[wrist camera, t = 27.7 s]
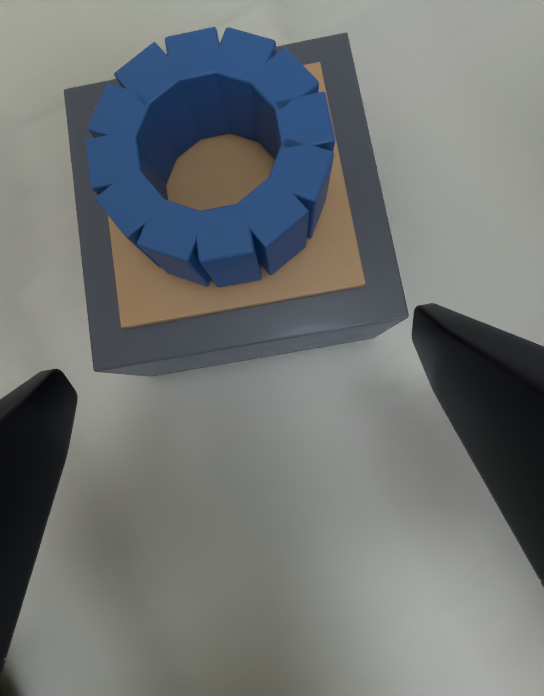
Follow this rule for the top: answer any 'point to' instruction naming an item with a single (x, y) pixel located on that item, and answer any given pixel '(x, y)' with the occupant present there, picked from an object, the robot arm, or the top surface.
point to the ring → (202, 122)
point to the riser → (271, 290)
